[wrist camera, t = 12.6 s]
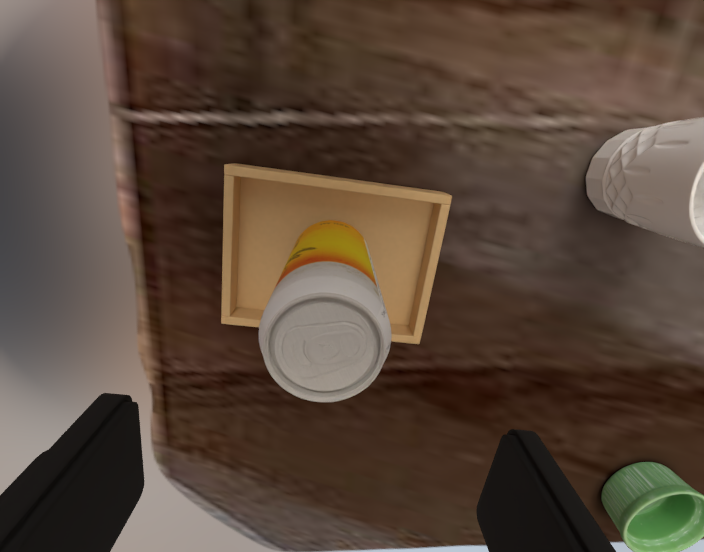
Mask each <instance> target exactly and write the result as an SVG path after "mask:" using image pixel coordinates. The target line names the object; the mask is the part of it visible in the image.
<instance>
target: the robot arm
mask: <svg viewBox="0 0 704 552" xmlns="http://www.w3.org/2000/svg"><path fill="white" fill-rule="evenodd" d="M143 487H144V472H143V460H142V448H141V435H140V422H139V409H138V404H137V402H132V398H131V397H130V396H129V395H120V394H109V393H104V394H101V395H100V396H99V397H98V398H97V399H96V400H95V401H94V402H93V403H92V404H91V405H90V406H89V407H88V409H87V410H86V411H85V412H84V413H83V414H82V415H81V416H80V417H79V418H78V419H77V420H76V421H75V422H74V423H73V424H72V425H71V426H70V428H69V429H68V430H67V431H66V432H65V433H64V434H63V435H62V436H61V437H60V438H59V439H58V440H57V442H56V443H55V444H54V445H53V446H52V447H51V448H50V449H49V450H47V451H45V452H43V453H42V454H40V455H39V456H38V457H37V458H36V459H35V460H34V461H33V462H32V463H31V464H30V465H29V466H28V467H27V468H26V469H25V470H24V471H23V472H22V473H21V474H20V475H19V476H18V477H17V479H16V480H15V481H14V482H13V483H12V484H11V485H10V486H9V487H8V488H7V489H6V490H5V491H4V492H3V493H2V494H1V495H0V552H110V551H111V549H112V547H113V545H114V543H115V542H116V540H117V538H118V536H119V535H120V533H121V531H122V529H123V527H124V526H125V524H126V522H127V520H128V518H129V517H130V515H131V513H132V511H133V510H134V508H135V506H136V504H137V502H138V501H139V498H140V496H141V494H142V491H143ZM477 519H478V522H479V525H480V528H481V531H482V533H483V536H484V539H485V542H486V544H487V547H488V550H489V552H616V551H615V550H614V548H613V547H612V545H611V544H610V542H609V541H608V539H607V538H606V536H605V535H604V533H603V532H602V530H601V529H600V527H599V526H598V524H597V523H596V521H595V520H594V518H593V517H592V515H591V514H590V512H589V511H588V509H587V508H586V506H585V505H584V503H583V502H582V500H581V499H580V497H579V496H578V494H577V493H576V491H575V490H574V488H573V487H572V486H571V484H570V483H569V481H568V480H567V478H566V477H565V475H564V474H563V472H562V471H561V469H560V468H559V466H558V465H557V463H556V462H555V460H554V459H553V457H552V456H551V454H550V453H549V451H548V450H547V448H546V447H545V445H544V444H543V442H542V441H541V439H540V438H539V436H538V435H537V434H536V433H535V432H533V431H526V430H514V429H512V430H510V431H508V433H507V435H503V436H502V438H501V440H500V443H499V446H498V449H497V451H496V454H495V457H494V460H493V463H492V465H491V468H490V471H489V474H488V477H487V479H486V482H485V485H484V488H483V491H482V493H481V496H480V499H479V502H478V505H477Z"/></svg>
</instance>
